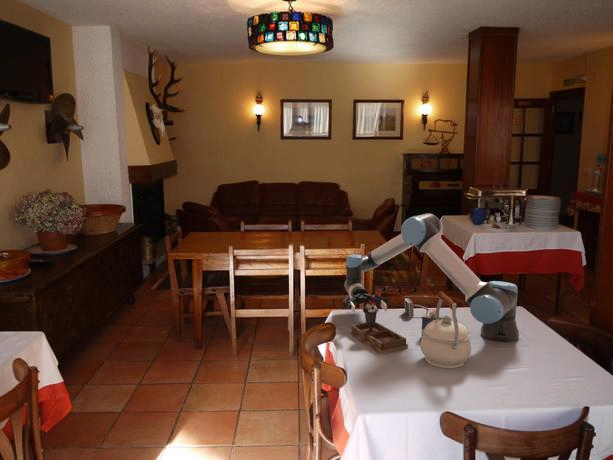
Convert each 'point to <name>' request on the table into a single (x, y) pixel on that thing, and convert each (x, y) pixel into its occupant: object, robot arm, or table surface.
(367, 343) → the crate
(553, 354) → the table surface
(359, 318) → the table surface
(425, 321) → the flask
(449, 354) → the kettle
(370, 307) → the sundae
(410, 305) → the decorative sculpture
